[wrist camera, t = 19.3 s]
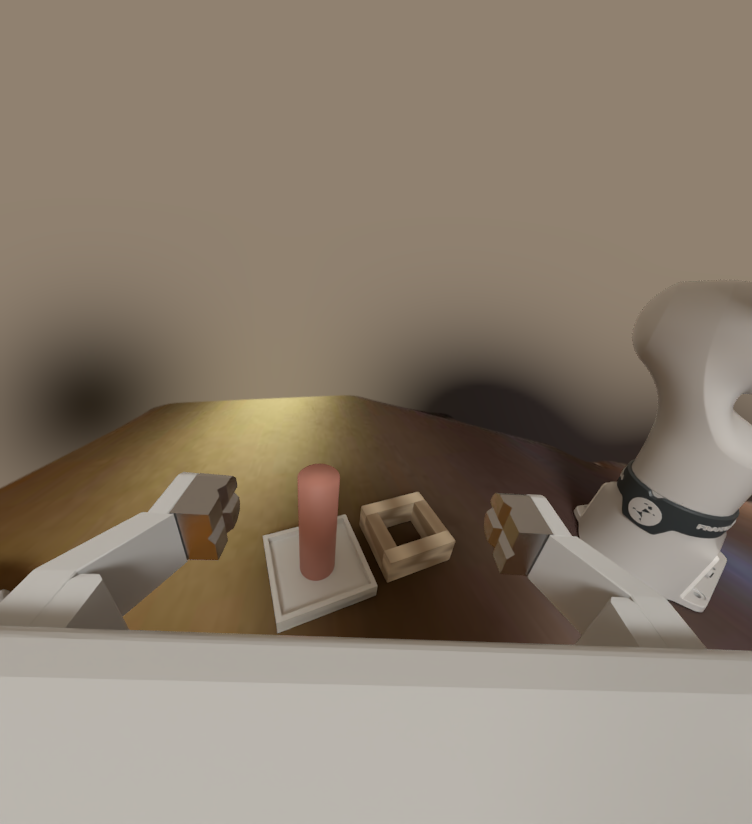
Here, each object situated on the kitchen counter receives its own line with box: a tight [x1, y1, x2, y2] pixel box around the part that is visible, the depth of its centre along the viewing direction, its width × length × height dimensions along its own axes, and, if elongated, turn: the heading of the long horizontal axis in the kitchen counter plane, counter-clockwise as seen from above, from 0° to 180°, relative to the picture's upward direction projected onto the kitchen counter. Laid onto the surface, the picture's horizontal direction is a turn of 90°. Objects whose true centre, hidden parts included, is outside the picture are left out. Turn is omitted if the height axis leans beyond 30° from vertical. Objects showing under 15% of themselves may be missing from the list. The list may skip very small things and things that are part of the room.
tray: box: [263, 514, 378, 633], centre depth 41 cm, size 12×12×2 cm
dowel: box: [298, 464, 340, 581], centre depth 38 cm, size 4×4×15 cm
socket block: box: [359, 492, 455, 583], centre depth 46 cm, size 10×10×4 cm
